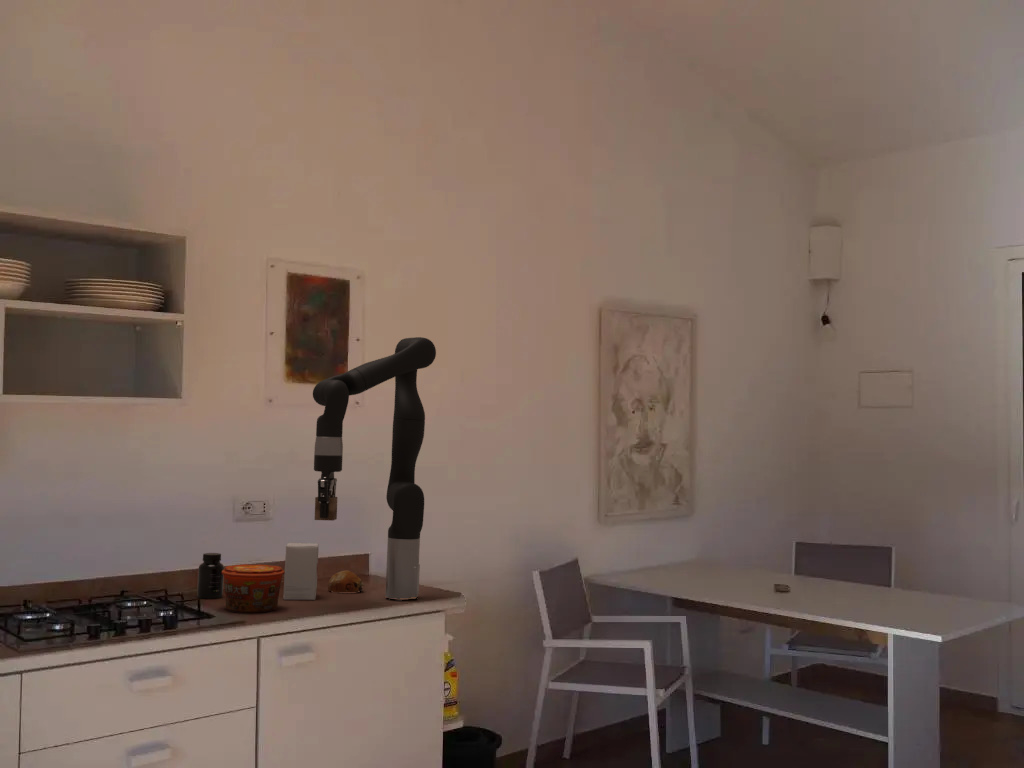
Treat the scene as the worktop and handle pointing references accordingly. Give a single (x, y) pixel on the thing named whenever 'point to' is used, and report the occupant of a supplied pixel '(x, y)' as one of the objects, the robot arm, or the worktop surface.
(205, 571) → the supplement bottle
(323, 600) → the worktop surface
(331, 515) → the walnut block
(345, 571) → the bread roll
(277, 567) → the food container
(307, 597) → the supplement box
